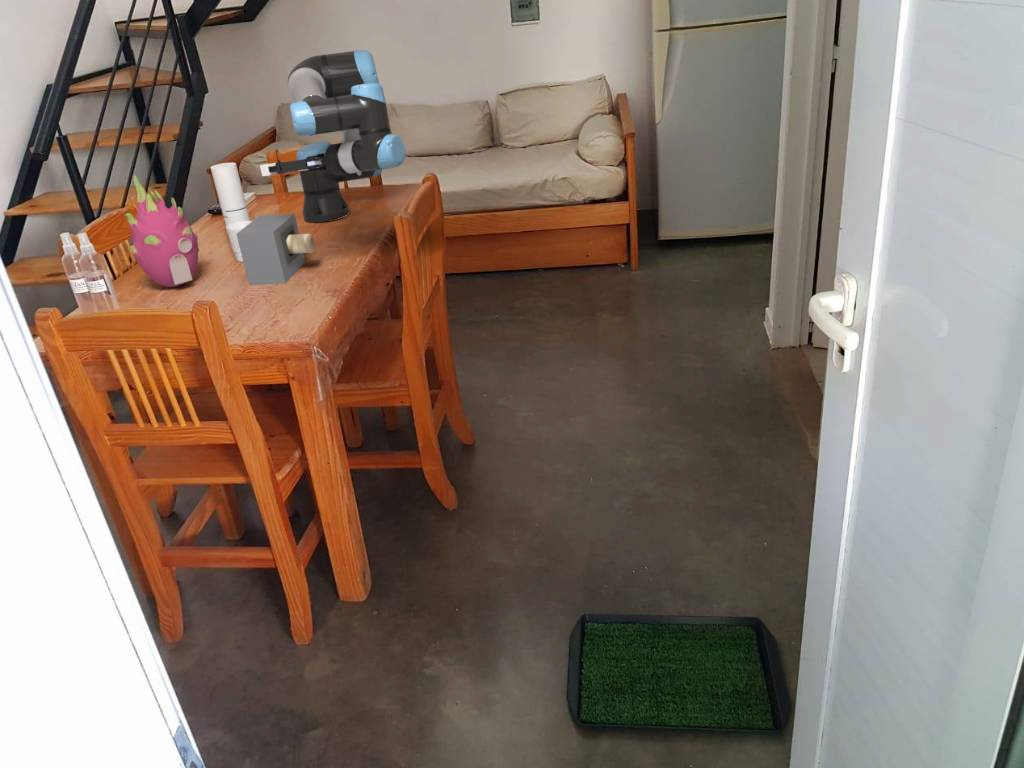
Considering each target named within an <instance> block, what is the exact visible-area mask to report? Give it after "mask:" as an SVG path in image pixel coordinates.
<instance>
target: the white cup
mask: <svg viewBox="0 0 1024 768" xmlns="http://www.w3.org/2000/svg"><path fill="white" fill-rule="evenodd" d="M252 221H253V220H250V221H240V222H235V223H232V224H229V225H228V226H226V225H225V229H226V232H227V236H228V238H229V242H231V243H230V247H231V246H232V247H231V249H232V248H233V251H234V252H233V251H232V252H233V253H234V256H235V259H236V261H237V262H238V263H244V262H243V258H242V254H241V250H240V247H239V243H238V239H237V235H236V234H237V233H238V232H239V231H241V230H242V229H243V228H244V227H246V226H247V225H248V224H250V223H251V222H252Z"/></svg>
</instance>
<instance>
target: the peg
mask: <svg viewBox="0 0 1024 768" xmlns="http://www.w3.org/2000/svg"><path fill="white" fill-rule="evenodd" d="M285 239H286V244H287V248H288V252H289V254H294V253H303V254H309V253H310V254H312V253H313V252H314V251H315V239H314V237H313V235H312V233H299V234H294V235H287V236H285Z"/></svg>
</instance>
